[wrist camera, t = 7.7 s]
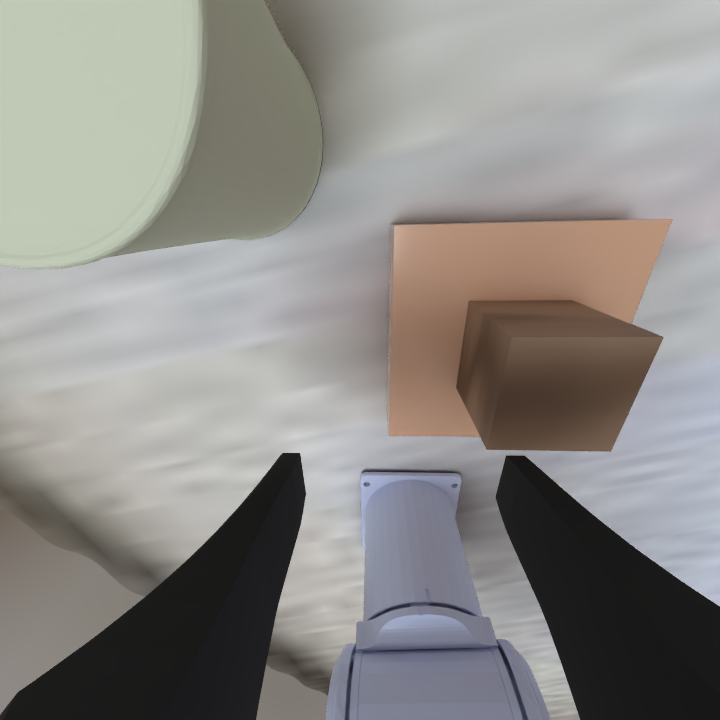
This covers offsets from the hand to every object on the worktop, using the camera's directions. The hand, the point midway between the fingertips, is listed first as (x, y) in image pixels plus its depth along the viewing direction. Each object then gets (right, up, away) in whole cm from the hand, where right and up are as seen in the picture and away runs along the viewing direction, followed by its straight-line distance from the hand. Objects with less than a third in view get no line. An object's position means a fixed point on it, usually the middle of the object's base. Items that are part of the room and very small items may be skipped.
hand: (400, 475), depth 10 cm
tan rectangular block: (+6, +6, +8) cm, 12 cm away
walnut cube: (+7, +5, +5) cm, 10 cm away
